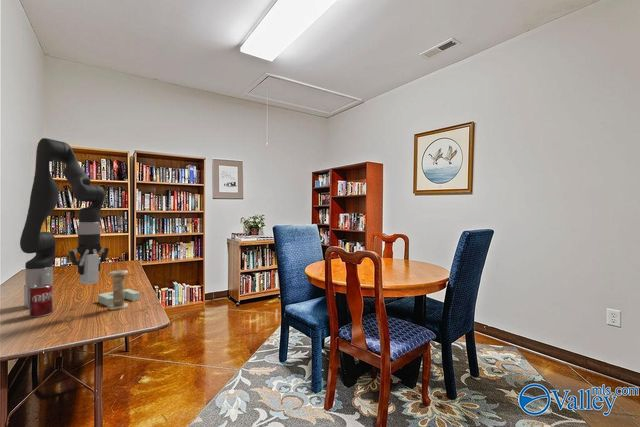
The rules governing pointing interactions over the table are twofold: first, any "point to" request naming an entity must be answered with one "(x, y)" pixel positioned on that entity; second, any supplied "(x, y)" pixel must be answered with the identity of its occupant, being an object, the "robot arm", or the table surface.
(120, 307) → the bobbin
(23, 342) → the table surface
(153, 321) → the table surface
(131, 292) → the notched board
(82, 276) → the skincare box
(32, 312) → the soda can
